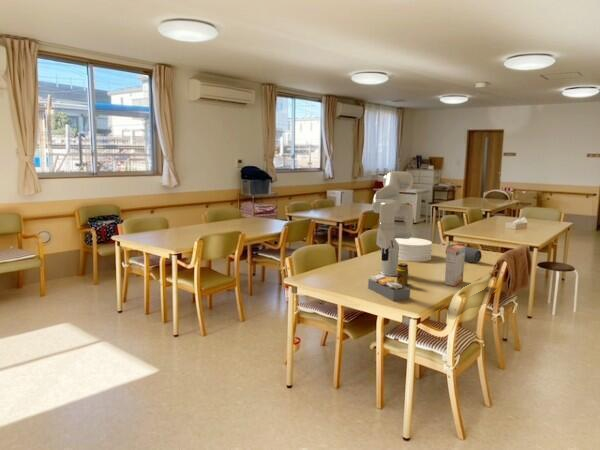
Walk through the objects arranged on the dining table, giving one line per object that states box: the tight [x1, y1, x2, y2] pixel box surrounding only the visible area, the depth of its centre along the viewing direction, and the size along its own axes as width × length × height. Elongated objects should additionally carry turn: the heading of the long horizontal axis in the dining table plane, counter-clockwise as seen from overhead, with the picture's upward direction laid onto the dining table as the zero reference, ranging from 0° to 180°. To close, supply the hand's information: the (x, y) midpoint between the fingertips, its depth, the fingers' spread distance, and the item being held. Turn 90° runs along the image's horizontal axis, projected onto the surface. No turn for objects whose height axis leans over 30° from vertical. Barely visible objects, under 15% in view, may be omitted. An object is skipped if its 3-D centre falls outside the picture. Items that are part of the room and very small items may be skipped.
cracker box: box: [444, 244, 466, 287], centre depth 258 cm, size 14×6×21 cm, turn 141°
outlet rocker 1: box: [370, 273, 387, 282], centre depth 242 cm, size 6×4×2 cm
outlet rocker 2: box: [379, 277, 395, 285], centre depth 236 cm, size 6×4×2 cm
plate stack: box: [395, 237, 433, 262], centre depth 323 cm, size 28×28×12 cm
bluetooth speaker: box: [445, 244, 483, 263], centre depth 315 cm, size 23×9×10 cm, turn 37°
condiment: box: [396, 262, 412, 288], centre depth 253 cm, size 7×8×12 cm
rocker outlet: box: [386, 282, 402, 289], centre depth 229 cm, size 6×4×2 cm
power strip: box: [367, 278, 411, 302], centre depth 237 cm, size 10×23×5 cm, turn 24°
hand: (384, 260), depth 237 cm, fingers closed
